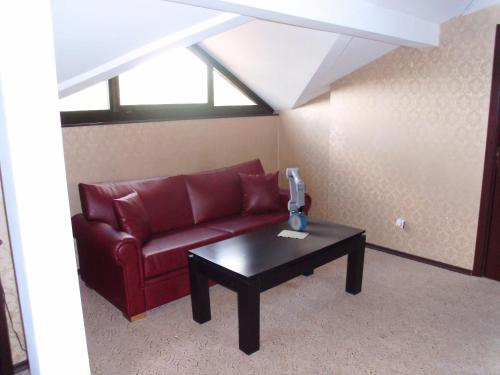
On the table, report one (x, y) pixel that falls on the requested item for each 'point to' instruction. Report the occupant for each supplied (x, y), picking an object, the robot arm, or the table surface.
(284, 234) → the mat
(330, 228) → the table surface
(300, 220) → the alarm clock
